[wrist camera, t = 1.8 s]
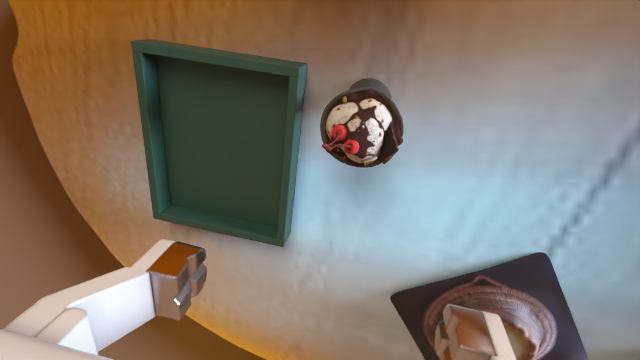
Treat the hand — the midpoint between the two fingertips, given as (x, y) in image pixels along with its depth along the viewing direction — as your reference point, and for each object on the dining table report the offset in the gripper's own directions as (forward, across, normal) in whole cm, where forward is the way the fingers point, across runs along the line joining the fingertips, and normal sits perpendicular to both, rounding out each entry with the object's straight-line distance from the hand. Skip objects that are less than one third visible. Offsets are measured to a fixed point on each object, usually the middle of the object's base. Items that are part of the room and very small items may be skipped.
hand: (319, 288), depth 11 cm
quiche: (+28, -22, +28) cm, 45 cm away
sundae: (+28, 0, 0) cm, 28 cm away
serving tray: (+28, +16, +8) cm, 33 cm away
